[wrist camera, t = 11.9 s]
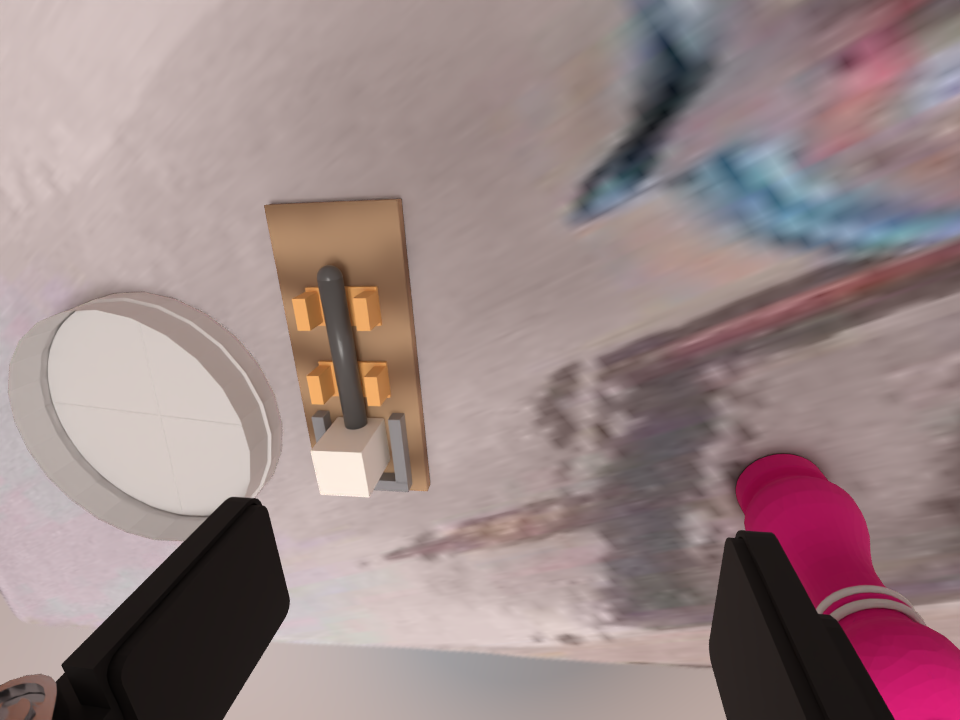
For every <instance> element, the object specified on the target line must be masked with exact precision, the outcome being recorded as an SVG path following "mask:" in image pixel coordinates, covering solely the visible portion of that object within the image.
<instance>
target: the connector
mask: <svg viewBox="0 0 960 720" xmlns="http://www.w3.org/2000/svg"><path fill="white" fill-rule="evenodd" d="M317 283H318V288H319V293H320V298H321V304H322V309H323V314H324V319H325V325H326V330H327V335H328V340H329V346H330V351H331V356H332V361H333V366H334V372H335V377H336V382H337V387H338V393H339V398H340V403H341V408H342V414H343V417H338V418H337V419H336V420H335V421H334V423H333V424H332V425H331V426H330V427H329V429H328V430H327V431H326V432H325V433H324V435H323V436H322V437H321V438H320V440H319V441H318V442H317V443H316V444H315V446H314V447H313V448H312V449H311V456H312V460H313V464H314V469H315V473H316V478H317V482H318V486H319V491H320V495H338V496H356V497H370V495H371V494H372V492H373V490H374V488H375V486H376V484H377V483H378V481H379V479H380V477H381V475H382V474H383V472H384V470H385V468H386V466H387V465H388V463H389V461H390V454H389V447H388V441H387V434H386V428H385V422H384V418H367V416H366V410H365V404H364V398H363V392H362V386H361V380H360V374H359V369H358V363H357V357H356V351H355V345H354V339H353V333H352V327H351V322H350V316H349V310H348V304H347V298H346V292H345V286H344V280H343V275H342V273H341V271H340V270H339V269H338V268H337V267H335V266H333V265H326V266H323V267H322V268H320V269H319V271H318V273H317Z"/></svg>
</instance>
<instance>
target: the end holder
mask: <svg viewBox="0 0 960 720" xmlns="http://www.w3.org/2000/svg"><path fill="white" fill-rule="evenodd" d="M312 423H313V428H314V433H315V438H316V443H317V442H318V441H319V440H320V438H321V437H322V436H323V435H324V433H325V432H326V431H327V430H328V429H329V427H330V426H331V425H332V423H331V417H330V412H329V411H320V410H318V411H317V412H316V413H315V414H314V415H313V416H312ZM388 425H389V433H390V441H391V448H392V456H393V464H394V471H395V473H386V472H383V474H382V475H381V477H380V479H379V481H378V483H377V484H376V486H375V488H374V490H381V491H398V492H409V490H410V488H411V486H412V484H413V483H412V474H411V466H410V457H409V449H408V440H407V431H406V423H405V414H404V413H392V414H391V416H390V417H389V419H388Z"/></svg>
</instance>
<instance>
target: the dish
mask: <svg viewBox="0 0 960 720" xmlns="http://www.w3.org/2000/svg"><path fill="white" fill-rule="evenodd" d="M8 395H9V400H10V404H11V409H12V413H13V418H14V422H15V424H16V426H17V428H18V430H19V432H20V434H21V436H22V438H23V441H24V443H25V445H26V447H27V449H28V451H29V452H30V454H31V455H32V456H33V458H34V459H35V460H36V462H37V463H38V465H39V466H40V467H41V469H42V470H43V471H44V473H45V474H46V475H47V477H48V478H49V479H50V480H51V481H52V482H53V483H54V484H55V485H56V486H57V487H58V488H59V489H60V490H61V491H62V492H63V493H64V494H65V495H66V496H68V497H69V498H70V499H71V500H72V501H73V502H75V503H76V504H77V505H79V506H80V507H82V508H83V509H85V510H86V511H88V512H89V513H90V514H92V515H93V516H95V517H96V518H98V519H99V520H102V521H104V522H106V523H108V524H110V525H112V526H114V527H116V528H118V529H120V530H123V531H125V532H127V533H131V534H134V535H138V536H142V537H146V538H149V539H153V540H166V541H185V540H186V539H187V538H188V537H189V536H190V535H191V534H192V533H193V532H194V531H195V530H196V529H197V528H198V527H199V526H200V525H201V524H202V523H203V522H204V521H205V520H206V519H207V518H208V517H209V516H210V515H211V514H212V513H213V512H214V511H215V510H216V509H217V508H218V507H219V506H220V505H221V504H222V503H223V502H224V501H225V500H226V499H228V498H230V497H245V498H254V497H255V496H256V495H257V494H258V493H259V492H260V491H261V489H262V488H263V487H264V486H265V484H266V483H267V482H268V481H269V479H270V478H271V477H272V476H273V474H274V472H275V469H276V466H277V463H278V460H279V457H280V454H281V451H282V421H281V417H280V413H279V409H278V406H277V402H276V398H275V394H274V392H273V390H272V389H271V387H270V385H269V383H268V381H267V379H266V377H265V375H264V373H263V372H262V370H261V368H260V366H259V364H258V363H257V362H256V361H255V359H254V358H253V357H252V356H251V355H250V353H249V352H248V351H247V350H246V349H245V347H244V346H243V345H242V344H241V343H240V341H239V340H238V339H237V338H236V337H235V336H234V335H233V334H231V333H230V332H229V331H228V330H226V329H225V328H224V327H222V326H221V325H220V324H219V323H217V322H216V321H215V320H214V319H212V318H211V317H210V316H208V315H207V314H205V313H203V312H201V311H199V310H197V309H195V308H193V307H191V306H189V305H187V304H185V303H183V302H181V301H179V300H177V299H173V298H169V297H164V296H160V295H156V294H151V293H147V292H132V293H115V294H111V295H108V296H105V297H101V298H98V299H95V300H92V301H89V302H87V303H85V304H82V305H80V306H77V307H75V308H72V309H70V310H68V311H64V312H62V313H59V314H57V315H54V316H52V317H49V318H47V319H45V320H42V321H40V322H37V323H36V324H35V325H34V326H33V327H32V328H31V329H30V330H29V331H28V332H27V333H26V334H25V335H24V336H23V337H22V338H21V339H20V340H19V342H18V345H17V347H16V349H15V352H14V354H13V357H12V359H11V362H10V364H9V380H8Z"/></svg>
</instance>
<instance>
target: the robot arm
mask: <svg viewBox="0 0 960 720" xmlns="http://www.w3.org/2000/svg"><path fill="white" fill-rule="evenodd" d="M289 605H290V599H289V594H288V590H287V586H286V582H285V578H284V574H283V570H282V566H281V562H280V557H279V553H278V549H277V545H276V541H275V537H274V533H273V529H272V525H271V521H270V517H269V513H268V510H267V508H266V507H265V506H262V504H261V502H260V501H259V500H258V499H256V498H245V497H230V498H228V499H226V500H225V501H224V502H223V503H222V504H221V505H220V506H219V507H218V508H217V509H216V510H215V511H214V512H213V513H212V514H211V515H210V516H209V517H208V518H207V519H206V520H205V521H204V522H203V523H202V524H201V525H200V526H199V527H198V528H197V529H196V530H195V531H194V532H193V533H192V534H191V535H190V536H189V537H188V538H187V539H186V540H185V541H184V542H183V543H182V544H181V545H180V546H179V547H178V548H177V549H176V550H175V551H174V552H173V553H172V554H171V555H170V556H169V557H168V558H167V559H166V560H165V561H164V562H163V563H162V564H161V565H160V566H159V567H158V568H157V569H156V570H155V571H154V572H153V573H152V574H151V575H150V576H149V577H148V578H147V579H146V580H145V581H144V582H143V583H142V584H141V585H140V586H139V587H138V588H137V589H136V590H135V591H134V592H133V593H132V594H131V595H130V596H129V597H128V598H127V599H126V600H125V601H124V602H123V603H122V604H121V605H120V606H119V607H118V608H117V609H116V610H115V611H114V612H113V613H112V614H111V615H110V616H109V617H108V618H107V619H106V620H105V621H104V622H103V623H102V624H101V625H100V626H99V627H98V628H97V629H96V630H95V631H94V632H93V633H92V634H91V635H90V637H88V639H86V640H85V641H84V642H83V643H82V644H81V646H80V647H79V648H77V649H76V650H75V651H74V652H73V653H72V654H71V655H70V656H69V657H68V659H67V660H65V661H64V663H63V664H62V668H63V670H64V672H65V673H64V674H63V675H62V676H61V677H60V678H59V679H58V680H57V681H56V682H55V681H54V680H53V679H52V678H51V677H50V676H46V675H42V674H35V675H26V676H23V677H20V678H17V679H13V680H10V681H8V682H6V683H4V684H2V685H0V720H223V718H224V717H225V715H226V713H227V712H228V710H229V709H230V707H231V705H232V704H233V702H234V700H235V699H236V697H237V695H238V694H239V692H240V690H241V689H242V687H243V686H244V684H245V682H246V681H247V679H248V677H249V676H250V674H251V673H252V671H253V669H254V668H255V666H256V664H257V663H258V661H259V660H260V658H261V656H262V655H263V653H264V651H265V650H266V648H267V647H268V645H269V643H270V642H271V640H272V638H273V637H274V635H275V634H276V632H277V630H278V629H279V627H280V625H281V624H282V622H283V621H284V619H285V617H286V615H287V613H288V610H289ZM709 653H710V660H711V664H712V668H713V671H714V675H715V678H716V682H717V686H718V689H719V693H720V697H721V700H722V704H723V707H724V711H725V714H726V717H727V720H895V719H894V717H893V715H892V713H891V712H890V710H889V708H888V706H887V705H886V703H885V701H884V700H883V698H882V696H881V694H880V693H879V691H878V689H877V687H876V686H875V684H874V682H873V680H872V679H871V677H870V675H869V673H868V672H867V670H866V668H865V667H864V665H863V663H862V661H861V660H860V658H859V656H858V654H857V653H856V651H855V649H854V647H853V646H852V644H851V642H850V640H849V639H848V637H847V635H846V634H845V632H844V630H843V628H842V627H841V626H840V624H839V623H838V621H837V620H836V619H835V618H833V617H832V616H831V615H827V614H818V613H817V611H816V609H815V607H814V605H813V603H812V601H811V600H810V598H809V596H808V594H807V592H806V590H805V588H804V587H803V585H802V583H801V581H800V579H799V577H798V576H797V574H796V572H795V570H794V568H793V566H792V564H791V563H790V561H789V559H788V557H787V555H786V553H785V552H784V550H783V548H782V546H781V544H780V542H779V540H778V539H777V537H776V536H775V534H773V533H772V532H759V531H744V530H740V531H738V532H737V534H736V537H735V538H727V539H726V542H725V546H724V553H723V559H722V565H721V571H720V577H719V584H718V590H717V596H716V602H715V608H714V615H713V621H712V627H711V633H710V639H709Z"/></svg>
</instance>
